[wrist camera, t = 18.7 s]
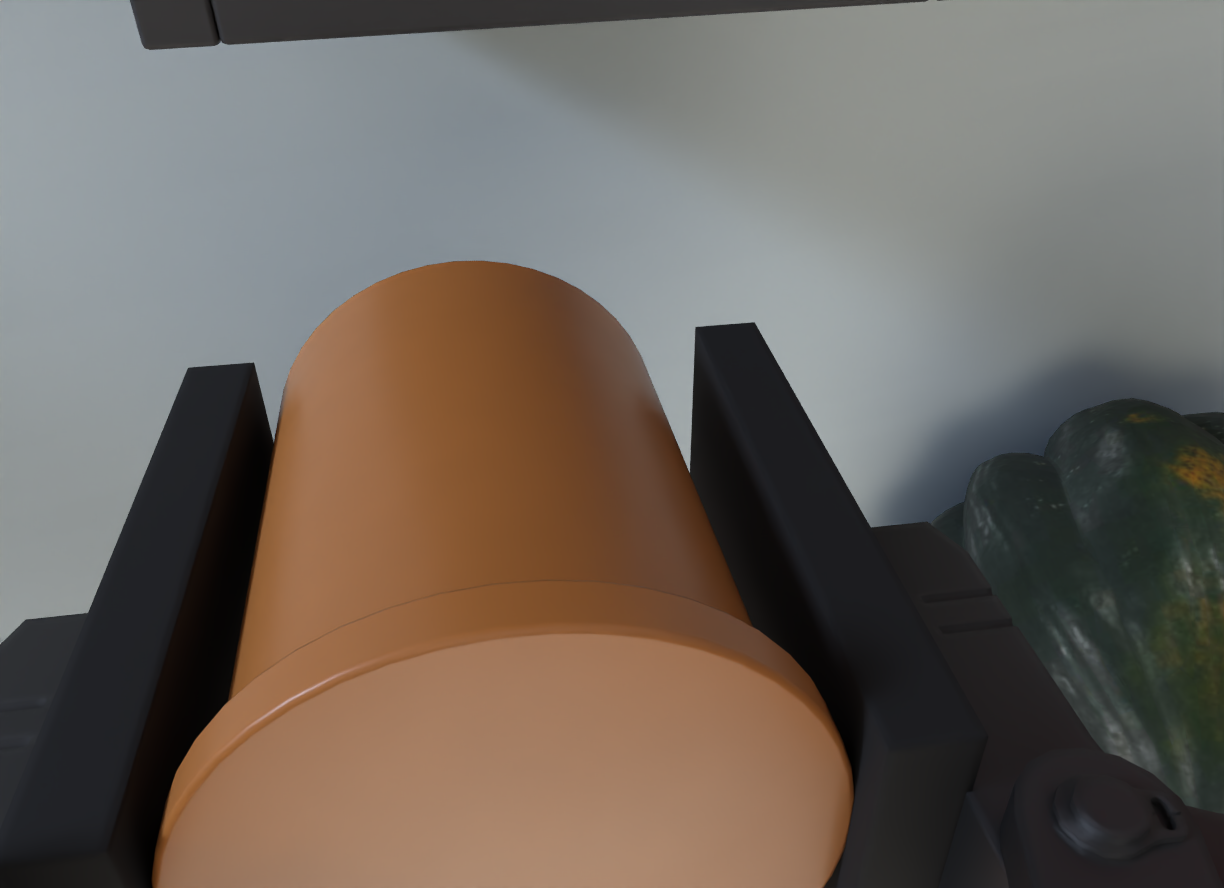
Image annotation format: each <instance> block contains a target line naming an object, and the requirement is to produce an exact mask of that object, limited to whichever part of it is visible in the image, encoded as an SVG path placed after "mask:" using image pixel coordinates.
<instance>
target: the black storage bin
mask: <svg viewBox="0 0 1224 888" xmlns="http://www.w3.org/2000/svg"><path fill="white" fill-rule="evenodd" d="M926 1H928V0H130V2H131V6H132V10H133V13H134V17H135V20H136V24H137V28H138V31H139V35H140V38H141V42H142V45H143V46H144V48H146V49H149V50H155V49H172V48H188V47H204V46H215V45H217V44H219V43H220V41H222V42H223V43H225V44H228V45H232V44H248V43H265V42H281V41H297V40H313V39H329V38H345V37H361V36H377V35H394V34H410V33H426V32H442V31H458V30H474V29H490V28H507V27H523V26H539V25H555V24H571V23H587V22H603V21H619V20H636V19H652V18H668V17H684V16H700V15H716V14H732V13H748V12H765V11H781V10H797V9H813V8H829V7H845V6H861V5H878V4H894V3H910V2H926ZM938 1H941V0H938Z"/></svg>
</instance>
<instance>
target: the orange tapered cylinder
mask: <svg viewBox="0 0 1224 888" xmlns="http://www.w3.org/2000/svg"><path fill="white" fill-rule="evenodd" d="M853 802H854V784H853V775H852V766H851V763H850V760H849V757H848V754H847V751H846V748H845V746H844V743H843V740H842V738H841V735H840V733H839V731H838V729H837V727H836V724H835V722H834V720H833V718H832V716H831V714H830V711H829V709H828V707H827V705H826V703H825V701H824V699H823V698H822V696H821V694H820V693H819V691H818V689H817V687H816V686H815V684H814V682H813V681H812V679H811V677H810V676H809V675H808V674H807V673H806V672H805V671H804V670H803V669H802V667H801V666H800V665H799V664H798V663H797V662H796V661H795V660H794V659H793V657H792V656H791V655H790V654H789V653H787V652H786V651H785V650H784V649H782V648H781V647H780V646H778V645H777V644H776V643H775V642H773V641H772V640H771V639H769V638H768V637H767V636H766V635H764V634H763V633H762V632H760V631H759V630H757V629H756V628H754V627H753V625H752V623H751V621H750V618H749V616H748V613H747V611H746V609H745V606H744V604H743V601H742V599H741V596H740V594H739V592H738V589H737V587H736V584H735V582H734V579H733V577H732V575H731V572H730V570H729V567H728V565H727V563H726V560H725V558H724V555H723V553H722V550H721V548H720V546H719V543H718V541H717V538H716V536H715V534H714V531H713V529H712V526H711V524H710V521H709V519H708V517H707V514H706V512H705V509H704V507H703V505H702V502H701V500H700V497H699V495H698V492H697V490H696V488H695V485H694V483H693V480H692V478H691V475H690V473H689V471H688V468H687V466H686V463H685V461H684V459H683V456H682V454H681V451H680V449H679V446H678V444H677V442H676V439H675V437H674V434H673V432H672V430H671V427H670V425H669V422H668V420H667V417H666V415H665V413H664V410H663V408H662V405H661V403H660V401H659V398H658V396H657V393H656V391H655V388H654V386H653V384H652V381H651V379H650V376H649V374H648V371H647V369H646V367H645V364H644V362H643V359H642V357H641V355H640V353H639V351H638V349H637V348H636V346H635V344H634V342H633V341H632V339H631V337H630V336H629V334H628V333H627V332H626V331H625V329H624V328H623V327H622V326H621V324H620V323H619V322H618V321H617V319H616V318H615V317H614V316H613V315H611V314H610V313H609V312H608V311H607V310H606V309H605V308H604V307H603V306H602V305H601V304H600V303H598V302H597V301H596V300H594V299H593V298H591V297H590V296H588V295H587V294H586V293H584V292H583V291H581V290H580V289H578V288H576V287H574V286H572V285H570V284H568V283H567V282H565V281H563V280H561V279H559V278H556V277H554V276H551V275H548V274H545V273H543V272H540V271H537V270H534V269H530V268H526V267H522V266H517V265H513V264H508V263H499V262H488V261H453V262H447V263H440V264H433V265H427V266H423V267H419V268H416V269H412V270H408V271H405V272H401V273H399V274H396V275H394V276H391V277H389V278H387V279H384V280H382V281H379V282H377V283H375V284H373V285H372V286H370V287H368V288H366V289H365V290H363V291H361V292H359V293H357V294H356V295H354V296H353V297H351V298H350V299H349V300H347V301H346V302H345V303H343V304H342V305H341V306H339V307H338V308H337V309H336V310H334V311H333V312H332V313H331V314H330V315H329V316H328V317H327V318H326V319H325V320H324V321H323V322H322V323H321V324H320V325H319V326H318V327H317V328H316V329H315V331H314V332H313V333H312V335H311V336H310V337H309V339H308V340H307V341H306V343H305V344H304V345H303V347H302V348H301V350H300V352H299V354H298V356H297V358H296V360H295V361H294V363H293V365H292V367H291V369H290V372H289V375H288V378H287V381H286V384H285V387H284V390H283V395H282V401H281V406H280V412H279V418H278V423H277V429H276V434H275V440H274V446H273V451H272V457H271V462H270V468H269V474H268V479H267V485H266V490H265V496H264V502H263V507H262V513H261V518H260V524H259V530H258V535H257V541H256V546H255V552H254V558H253V563H252V569H251V574H250V580H249V586H248V591H247V597H246V602H245V608H244V614H243V619H242V625H241V630H240V636H239V642H238V647H237V653H236V658H235V664H234V670H233V675H232V681H231V687H230V692H229V698H228V702H227V703H226V704H225V705H224V706H223V707H222V709H221V710H220V711H219V712H218V713H217V714H216V716H215V717H214V718H213V719H212V720H211V722H210V723H209V724H208V725H207V726H206V728H205V729H204V730H203V731H202V732H201V733H200V735H199V736H198V737H197V738H196V739H195V741H194V743H193V744H192V746H191V748H190V749H189V751H188V753H187V755H186V756H185V758H184V760H183V761H182V763H181V765H180V766H179V768H178V770H177V772H176V774H175V777H174V780H173V783H172V786H171V788H170V791H169V794H168V797H167V800H166V802H165V807H164V811H163V816H162V820H161V825H160V829H159V834H158V838H157V843H156V847H155V854H154V862H153V869H152V877H151V883H152V888H824V886H825V885H826V883H827V882H828V880H829V879H830V877H831V876H832V874H833V872H834V870H835V868H836V866H837V864H838V862H839V860H840V858H841V856H842V853H843V851H844V848H845V843H846V839H847V834H848V830H849V825H850V819H851V813H852V808H853Z"/></svg>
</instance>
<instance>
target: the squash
mask: <svg viewBox="0 0 1224 888" xmlns="http://www.w3.org/2000/svg"><path fill="white" fill-rule="evenodd" d="M931 525H932V526H934V527H935V528H937V529H938V530H939V531H941V532H942V533H943V534H945V535H946V536H947V537H949V538H950V539H951V540H953V541H954V542H955V543H957V544H958V545H959V546H961V547H962V548H964V549H965V550H966V551H967V552H968V553H969V555H970V556H971V558H972V559H973V561H974V562H975V564H976V565H977V567H978V568H979V570H980V571H981V572H982V574H983V575H984V577H985V578H986V580H987V581H988V583H989V584H990V586H991V587H992V594H993V595H997V596H998V598H999V599H1000V601H1001V602H1002V604H1003V605H1004V607H1005V608H1006V610H1007V611H1008V613H1009V614H1010V616H1011V617H1012V624H1013V626H1018V628H1019V629H1020V631H1021V632H1022V634H1023V635H1024V637H1025V638H1026V639H1027V641H1028V642H1029V644H1030V645H1031V647H1032V648H1033V650H1034V651H1035V653H1036V654H1037V656H1038V657H1039V659H1040V660H1041V662H1042V663H1043V665H1044V666H1045V668H1046V669H1047V671H1048V672H1049V674H1050V675H1051V677H1052V678H1053V680H1054V681H1055V683H1056V684H1057V686H1058V687H1059V689H1060V690H1061V692H1062V693H1063V695H1064V696H1065V698H1066V699H1067V701H1068V702H1069V704H1070V705H1071V706H1072V708H1073V709H1074V711H1075V712H1076V714H1077V715H1078V717H1079V718H1080V720H1081V721H1082V723H1083V724H1084V726H1085V727H1086V729H1087V730H1088V732H1089V733H1090V735H1091V736H1092V738H1093V739H1094V741H1095V742H1096V743H1097V744H1098V745H1099V747H1100V748H1101V749H1102V750H1103V751H1104V753H1109V754H1113V755H1117V756H1120V757H1122V758H1124V759H1126V760H1128V761H1129V762H1131V763H1133V764H1135V765H1137V766H1139V767H1141V768H1143V769H1145V770H1147V771H1149V772H1151V773H1153V774H1154V775H1155V776H1156V777H1157V778H1158V779H1159V780H1161V781H1162V782H1163V783H1164V784H1165V785H1166V786H1167V787H1168V788H1170V789H1171V790H1172V791H1173V792H1174V793H1175V794H1176V795H1178V796H1179V797H1180V798H1181V799H1182V801H1183V802H1184V804H1185V805H1187V806H1191V807H1195V808H1199V809H1203V810H1207V811H1212V812H1216V813H1222V814H1224V413H1219V412H1211V413H1199V414H1189V415H1183V416H1181V415H1180V414H1179V413H1177V412H1175V411H1173V410H1171V409H1169V408H1166V407H1163V406H1160V405H1158V404H1155V403H1152V402H1149V401H1145V400H1139V399H1134V398H1130V399H1120V400H1113V401H1110V402H1107V403H1104V404H1101V405H1098V406H1096V407H1093V408H1089V409H1086V410H1083V411H1081V412H1079V413H1077V414H1075V415H1073V416H1072V417H1071V418H1070V419H1068V420H1067V421H1066V422H1064V423H1063V424H1062V425H1061V426H1060V427H1059V428H1058V430H1057V431H1056V432H1055V433H1054V434H1053V436H1052V437H1051V438H1050V439H1049V442H1048V444H1047V447H1046V449H1045V454H1044V457H1042V456H1038V455H1033V454H1029V453H1008V454H1002V455H999V456H997V457H995V458H992V459H990V460H988V461H986V462H984V463H982V464H981V465H979V466H978V467H977V469H976V470H975V471H974V473H973V474H972V477H971V479H970V482H969V485H968V488H967V492H966V497H965V502H964V503H960V504H958V505H956V506H954V507H952V508H950V509H948V510H946V511H945V512H944V513H942V514H941V515H940V516H938V517H937V518H936V519H935V520H934V521H933V522H932V523H931Z"/></svg>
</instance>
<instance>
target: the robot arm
mask: <svg viewBox="0 0 1224 888" xmlns="http://www.w3.org/2000/svg"><path fill="white" fill-rule="evenodd" d="M273 446H274V442H273V438H272V434H271V430H270V426H269V422H268V418H267V414H266V410H265V405H264V401H263V397H262V393H261V389H260V385H259V381H258V377H257V373H256V369H255V365H254V363H243V364H230V365H218V366H205V367H193V368H188V369H187V372H186V374H185V377H184V379H183V382H182V384H181V387H180V389H179V392H178V394H177V396H176V399H175V401H174V404H173V406H172V409H171V411H170V414H169V416H168V419H167V421H166V423H165V426H164V428H163V431H162V433H161V436H160V438H159V441H158V443H157V446H156V448H155V450H154V453H153V455H152V458H151V460H150V463H149V465H148V468H147V470H146V472H145V475H144V477H143V480H142V482H141V485H140V487H139V490H138V492H137V495H136V497H135V499H134V502H133V504H132V507H131V509H130V512H129V514H128V517H127V519H126V522H125V524H124V526H123V529H122V531H121V534H120V536H119V539H118V541H117V544H116V546H115V548H114V551H113V553H112V556H111V558H110V561H109V563H108V566H107V568H106V571H105V573H104V575H103V578H102V580H101V583H100V585H99V588H98V590H97V593H96V595H95V598H94V600H93V602H92V605H91V607H90V610H89V612H88V613H84V614H75V615H66V616H56V617H47V618H37V619H28V620H25V621H24V622H23V623H22V624H21V625H20V626H19V627H18V628H17V629H16V630H15V631H14V632H13V633H12V634H11V635H10V636H9V637H8V638H7V639H5V640H4V641H3V642H2V643H1V644H0V888H152V883H151V877H152V869H153V862H154V854H155V847H156V843H157V838H158V834H159V829H160V825H161V820H162V816H163V811H164V807H165V802H166V800H167V797H168V794H169V791H170V788H171V786H172V783H173V780H174V777H175V774H176V772H177V770H178V768H179V766H180V765H181V763H182V761H183V760H184V758H185V756H186V755H187V753H188V751H189V749H190V748H191V746H192V744H193V743H194V741H195V739H196V738H197V737H198V736H199V735H200V733H201V732H202V731H203V730H204V729H205V728H206V726H207V725H208V724H209V723H210V722H211V720H212V719H213V718H214V717H215V716H216V714H217V713H218V712H219V711H220V710H221V709H222V707H223V706H224V705H225V704H226V703H227V702H228V698H229V692H230V687H231V681H232V675H233V670H234V664H235V658H236V653H237V647H238V642H239V636H240V630H241V625H242V619H243V614H244V608H245V602H246V597H247V591H248V586H249V580H250V574H251V569H252V563H253V558H254V552H255V546H256V541H257V535H258V530H259V524H260V518H261V513H262V507H263V502H264V496H265V490H266V485H267V479H268V474H269V468H270V462H271V457H272V451H273ZM690 475H691V478H692V480H693V483H694V485H695V488H696V490H697V492H698V495H699V497H700V500H701V502H702V505H703V507H704V509H705V512H706V514H707V517H708V519H709V521H710V524H711V526H712V529H713V531H714V534H715V536H716V538H717V541H718V543H719V546H720V548H721V550H722V553H723V555H724V558H725V560H726V563H727V565H728V567H729V570H730V572H731V575H732V577H733V579H734V582H735V584H736V587H737V589H738V592H739V594H740V596H741V599H742V601H743V604H744V606H745V609H746V611H747V613H748V616H749V618H750V621H751V623H752V625H753V627H754V628H756V629H757V630H759V631H760V632H762V633H763V634H764V635H766V636H767V637H768V638H769V639H771V640H772V641H773V642H775V643H776V644H777V645H778V646H780V647H781V648H782V649H784V650H785V651H786V652H787V653H789V654H790V655H791V656H792V657H793V659H794V660H795V661H796V662H797V663H798V664H799V665H800V666H801V667H802V669H803V670H804V671H805V672H806V673H807V674H808V675H809V676H810V677H811V679H812V681H813V682H814V684H815V686H816V687H817V689H818V691H819V693H820V694H821V696H822V698H823V699H824V701H825V703H826V705H827V707H828V709H829V711H830V714H831V716H832V718H833V720H834V722H835V724H836V727H837V729H838V731H839V733H840V735H841V738H842V740H843V743H844V746H845V748H846V751H847V754H848V757H849V760H850V763H851V766H852V775H853V784H854V802H853V808H852V813H851V819H850V825H849V830H848V834H847V839H846V843H845V848H844V851H843V853H842V856H841V858H840V860H839V862H838V864H837V866H836V868H835V870H834V872H833V874H832V876H831V877H830V879H829V880H828V882H827V883H826V885H825V886H824V888H1224V814H1222V813H1216V812H1212V811H1207V810H1203V809H1199V808H1195V807H1191V806H1187V805H1185V804H1184V802H1183V801H1182V799H1181V798H1180V797H1179V796H1178V795H1176V794H1175V793H1174V792H1173V791H1172V790H1171V789H1170V788H1168V787H1167V786H1166V785H1165V784H1164V783H1163V782H1162V781H1161V780H1159V779H1158V778H1157V777H1156V776H1155V775H1154V774H1153V773H1151V772H1149V771H1147V770H1145V769H1143V768H1141V767H1139V766H1137V765H1135V764H1133V763H1131V762H1129V761H1128V760H1126V759H1124V758H1122V757H1120V756H1117V755H1113V754H1109V753H1104V751H1103V750H1102V749H1101V748H1100V747H1099V745H1098V744H1097V743H1096V742H1095V741H1094V739H1093V738H1092V736H1091V735H1090V733H1089V732H1088V730H1087V729H1086V727H1085V726H1084V724H1083V723H1082V721H1081V720H1080V718H1079V717H1078V715H1077V714H1076V712H1075V711H1074V709H1073V708H1072V706H1071V705H1070V704H1069V702H1068V701H1067V699H1066V698H1065V696H1064V695H1063V693H1062V692H1061V690H1060V689H1059V687H1058V686H1057V684H1056V683H1055V681H1054V680H1053V678H1052V677H1051V675H1050V674H1049V672H1048V671H1047V669H1046V668H1045V666H1044V665H1043V663H1042V662H1041V660H1040V659H1039V657H1038V656H1037V654H1036V653H1035V651H1034V650H1033V648H1032V647H1031V645H1030V644H1029V642H1028V641H1027V639H1026V638H1025V637H1024V635H1023V634H1022V632H1021V631H1020V629H1019V628H1018V626H1013V624H1012V617H1011V616H1010V614H1009V613H1008V611H1007V610H1006V608H1005V607H1004V605H1003V604H1002V602H1001V601H1000V599H999V598H998V596H997V595H993V594H992V587H991V586H990V584H989V583H988V581H987V580H986V578H985V577H984V575H983V574H982V572H981V571H980V570H979V568H978V567H977V565H976V564H975V562H974V561H973V559H972V558H971V556H970V555H969V553H968V552H967V551H966V550H965V549H964V548H962V547H961V546H959V545H958V544H957V543H955V542H954V541H953V540H951V539H950V538H949V537H947V536H946V535H945V534H943V533H942V532H941V531H939V530H938V529H937V528H935V527H934V526H932V525H931V524H930V523H928V522H920V523H910V524H901V525H891V526H882V527H872V528H871V527H870V526H869V524H868V522H867V520H866V519H865V517H864V515H863V513H862V511H861V510H860V508H859V506H858V504H857V503H856V501H855V499H854V497H853V496H852V494H851V492H850V490H849V489H848V487H847V485H846V483H845V481H844V480H843V478H842V476H841V474H840V473H839V471H838V469H837V467H836V466H835V464H834V462H833V460H832V458H831V457H830V455H829V453H828V451H827V450H826V448H825V446H824V444H823V443H822V441H821V439H820V437H819V436H818V434H817V432H816V430H815V428H814V427H813V425H812V423H811V421H810V420H809V418H808V416H807V414H806V413H805V411H804V409H803V407H802V406H801V404H800V402H799V400H798V398H797V397H796V395H795V393H794V391H793V390H792V388H791V386H790V384H789V383H788V381H787V379H786V377H785V376H784V374H783V372H782V370H781V368H780V367H779V365H778V363H777V361H776V360H775V358H774V356H773V354H772V353H771V351H770V349H769V347H768V345H767V344H766V342H765V340H764V338H763V337H762V335H761V333H760V331H759V330H758V328H757V326H756V324H755V323H741V324H729V325H716V326H704V327H696V329H695V355H694V382H693V408H692V434H691V460H690Z"/></svg>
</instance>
